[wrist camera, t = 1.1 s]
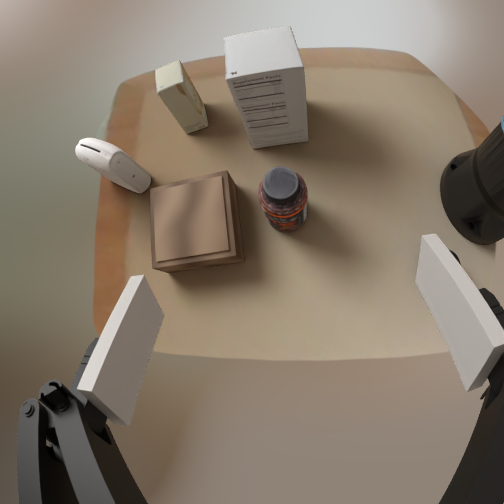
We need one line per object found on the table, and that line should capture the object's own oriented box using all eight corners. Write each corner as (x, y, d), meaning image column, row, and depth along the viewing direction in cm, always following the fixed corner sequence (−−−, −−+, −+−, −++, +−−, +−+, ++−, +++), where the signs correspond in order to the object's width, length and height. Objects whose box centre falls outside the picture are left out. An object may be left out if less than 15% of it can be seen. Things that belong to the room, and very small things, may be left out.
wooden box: (235, 184, 45) (226, 169, 40) (244, 261, 43) (235, 255, 38) (164, 199, 47) (149, 188, 42) (168, 272, 45) (151, 268, 39)
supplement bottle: (266, 233, 43) (252, 208, 32) (266, 194, 44) (252, 159, 33) (308, 232, 42) (308, 206, 31) (307, 193, 43) (305, 156, 32)
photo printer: (156, 175, 48) (117, 141, 36) (144, 197, 48) (101, 168, 36) (118, 160, 51) (79, 129, 39) (107, 180, 50) (65, 152, 39)
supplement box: (309, 142, 44) (306, 68, 28) (252, 150, 46) (224, 81, 30) (299, 97, 46) (291, 23, 30) (247, 105, 48) (222, 35, 31)
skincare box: (209, 126, 48) (184, 82, 36) (186, 135, 49) (156, 94, 37) (203, 101, 50) (179, 57, 38) (181, 109, 50) (154, 68, 38)
